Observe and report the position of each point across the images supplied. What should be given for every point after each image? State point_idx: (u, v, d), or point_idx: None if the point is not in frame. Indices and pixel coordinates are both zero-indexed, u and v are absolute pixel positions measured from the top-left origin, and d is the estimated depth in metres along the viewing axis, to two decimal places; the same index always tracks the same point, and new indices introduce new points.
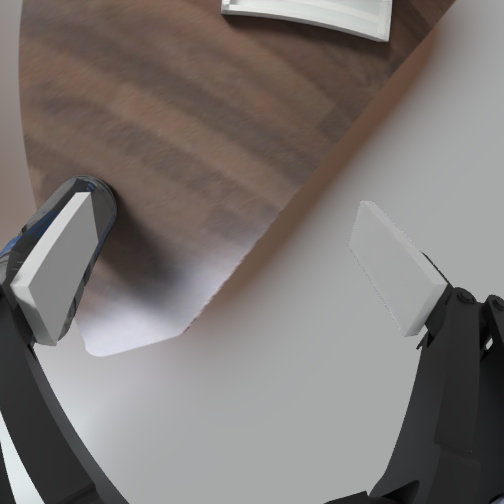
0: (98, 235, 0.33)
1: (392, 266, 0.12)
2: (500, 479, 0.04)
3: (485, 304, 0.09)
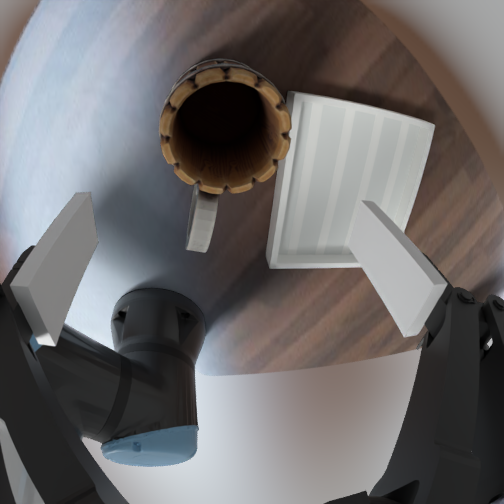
0: None
1: (392, 266, 0.12)
2: (500, 479, 0.04)
3: (485, 304, 0.09)
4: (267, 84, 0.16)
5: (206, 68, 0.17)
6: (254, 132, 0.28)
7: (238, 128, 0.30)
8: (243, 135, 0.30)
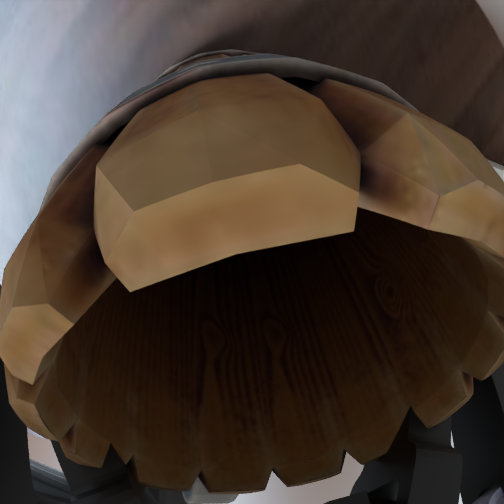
0: None
1: None
2: (488, 472, 0.04)
3: None
4: None
5: (193, 75, 0.03)
6: None
7: None
8: None
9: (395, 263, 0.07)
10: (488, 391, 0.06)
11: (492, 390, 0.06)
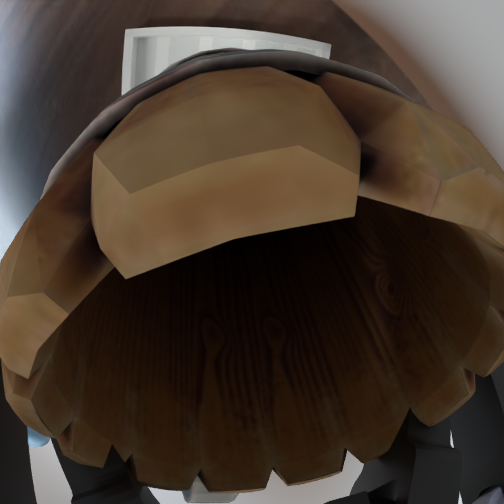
0: None
1: None
2: (487, 472, 0.04)
3: None
4: None
5: (192, 69, 0.03)
6: None
7: None
8: None
9: (396, 260, 0.07)
10: (488, 391, 0.06)
11: (492, 390, 0.06)
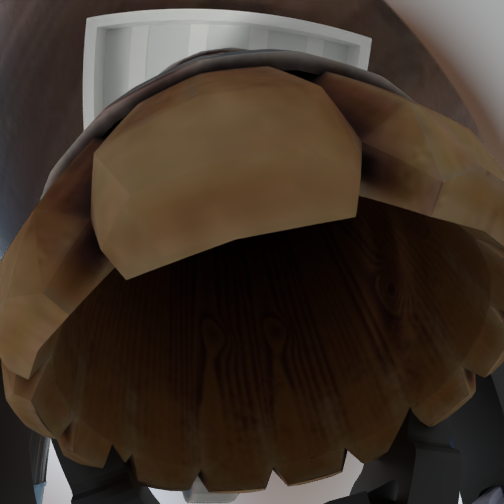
0: None
1: None
2: (487, 472, 0.04)
3: None
4: None
5: (193, 68, 0.03)
6: None
7: None
8: None
9: (396, 260, 0.07)
10: (488, 391, 0.06)
11: (491, 390, 0.06)
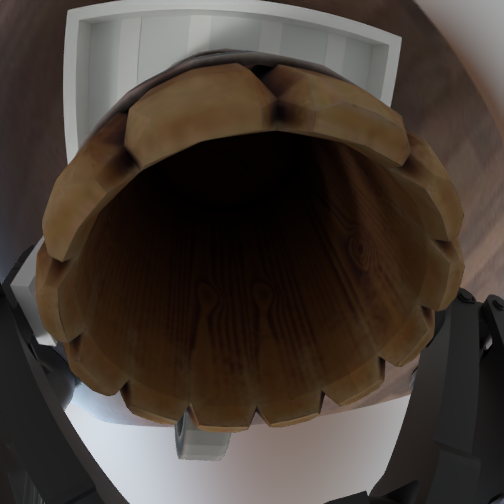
0: None
1: None
2: (500, 479, 0.04)
3: (485, 304, 0.09)
4: (438, 163, 0.04)
5: (186, 66, 0.04)
6: (292, 196, 0.15)
7: (260, 180, 0.17)
8: (268, 192, 0.18)
9: (363, 222, 0.08)
10: None
11: None
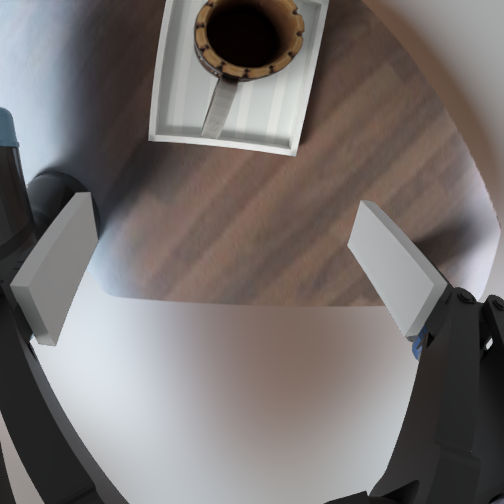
0: None
1: (392, 266, 0.12)
2: (500, 479, 0.04)
3: (485, 304, 0.09)
4: None
5: None
6: (269, 60, 0.28)
7: (254, 60, 0.30)
8: (258, 67, 0.31)
9: (287, 36, 0.21)
10: None
11: None
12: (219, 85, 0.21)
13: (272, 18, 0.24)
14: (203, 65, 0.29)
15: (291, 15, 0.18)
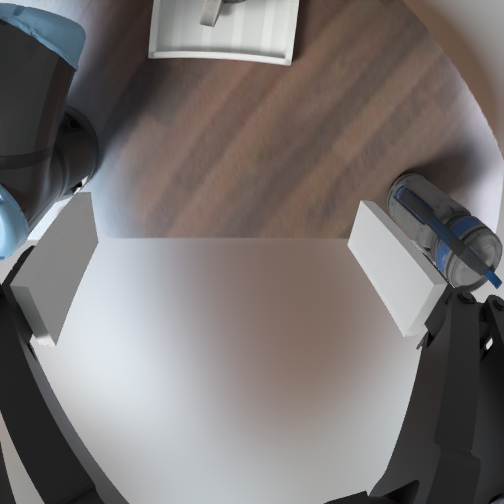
0: (444, 194, 0.40)
1: (392, 266, 0.12)
2: (500, 479, 0.04)
3: (485, 304, 0.09)
4: None
5: None
6: None
7: None
8: None
9: None
10: None
11: None
12: None
13: None
14: None
15: None
